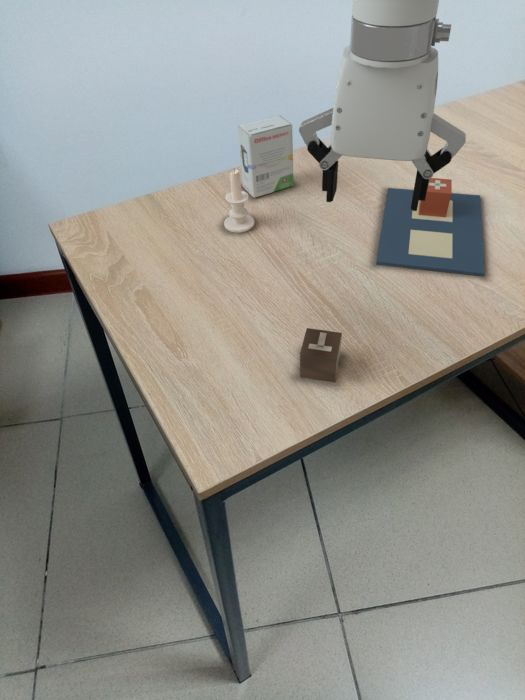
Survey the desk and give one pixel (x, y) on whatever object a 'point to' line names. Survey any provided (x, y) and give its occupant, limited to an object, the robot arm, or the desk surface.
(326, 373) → the wooden letter block
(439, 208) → the rust brown block
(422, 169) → the robot arm
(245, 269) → the desk surface
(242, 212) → the candle
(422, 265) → the mat
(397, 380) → the desk surface
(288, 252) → the desk surface
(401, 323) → the desk surface
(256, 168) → the ink box
